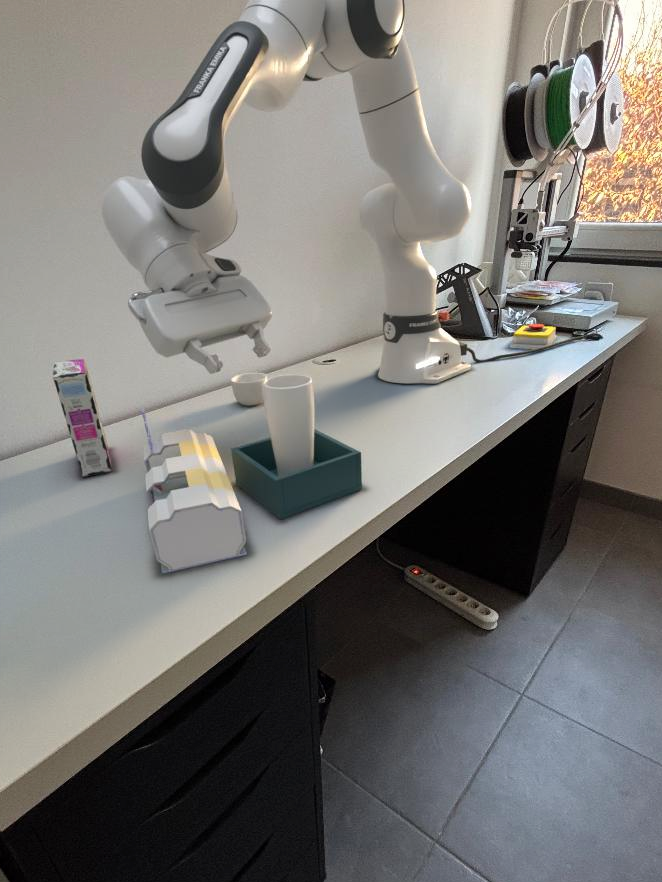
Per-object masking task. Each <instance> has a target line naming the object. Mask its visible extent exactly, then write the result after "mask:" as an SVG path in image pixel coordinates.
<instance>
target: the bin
mask: <svg viewBox="0 0 662 882" xmlns="http://www.w3.org/2000/svg"><path fill="white" fill-rule="evenodd" d="M230 453H231V459H232V467H233V473H234V479H235V484H236V485H237V486H238V487H239V488H240V489H242V490H243V491H244V492H246V494H248V495H249V496H250V497H251V498H253V499H254V500H255V501H257V502H258V503H259V504H260V505H261V506H262V507H264V508H265V509H266V510H267V511H269V512H270V513H271V514H273V515H274V516H275V517H276V518H277V519H279V520H281V521H282V520H283V519H286V518H288V517H289V518H290V517H292V516H294V515H297V514H300V513H302V512H305V511H307V510H308V511H309V510H310V509H313V508H316V507H318V506H321V505H324V504H326V503H329V502H331V501H334V500H337V499H340V498H342V497H345V496H347V495H350V494H353V493H355V492H359V491H361V490H362V489H363V477H362V475H363V473H362V452H361V451H360V450H357V449H356V448H354V447H351V446H350V445H347V444H345V443H343V442H341V441H339V440H338V439H335V438H334V437H331V436H329V435H328V434H325V433H324V432H322V431H319V430H318V429H316V428H314V465H313V466H310V467H307V468H304V469H301V470H298V471H295V472H292V473H289V474H286V475H283V476H280V477H278V474H277V467H276V462H275V457H274V452H273V447H272V442H271V437H270V436H269V437H266V438H263V439H260V440H255V441H253V442H249V443H246V444H241V445H239V446H235V447H232V448H230Z"/></svg>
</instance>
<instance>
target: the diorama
mask: <svg viewBox="0 0 662 882" xmlns="http://www.w3.org/2000/svg"><path fill="white" fill-rule="evenodd" d="M144 409H145V408H144V407H141V408H140V411H141V414H142V418H143V424H144V428H145V431H146V436H147V440H148V442H147V444H146V445H145V446H144V447H142V451H143V452H142V453H143V463H144V467H145V471H146V474H145V475H144V478H145V489H146V491H145V492H146V497H147V499H148V504H149V508H147V520H148V521H147V522H148V531H149V536H150V539H151V542H152V547H153V551H154V555H155V559H156V561H157V562H158V563H160V569H161V574H162V575H163V574H168V573H171V572H175V571H180V570H185V569H189V568H193V567H194V568H195V567H198V566H202V565H207V564H212V563H216V562H220V561H225V560H229V559H233V558H238V557H242V556H247V555H248V552H247V549H246V547H245V544H246V542H247V536H246V529H245V524H244V518H243V512H242V508H241V506H240V503H239V501H238V498H237V495H236V493H235V491H234V488H233V486H232V483H231V481H230V478H229V476H228V473H227V471H226V469H225V466H224V463H223V461H222V458H221V455H220V453H219V451H218V448H217V445H216V443H215V439H214V438H213V436H212V435H210V434H208V433H206V432H198V433H197V432H196V433H195V432H194V431H193V430H192V429H190V428H187V429H186V428H185V429H180V430H175V431H174V430H173V431H169V432H163V433H161V434H160V435H159V437H158V438H157V439H156V440H152V436H151V431H150V427H149V423H148V419H147V415H146V411H145V410H144ZM176 446H178V447H179V451H180V455H179V456H173V457H167V458H165V459H164V461H163V462H162V465H157V466H153V467H151V463H150V459H151V458H152V457H154V456H160V455H162V454H163V452H164V450H165V449H166V448H167V449H168V448H170V447H176ZM182 474H185V476H181V477H176V478H171V479H169V478H170V477H173V476H177V475H182Z"/></svg>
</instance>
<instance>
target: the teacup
mask: <svg viewBox="0 0 662 882" xmlns="http://www.w3.org/2000/svg"><path fill="white" fill-rule="evenodd" d="M266 379H268V375H267V374H266V373H263V372H245V373H240V374H237V375H234V376H233V377H231V378H230V384H231V389H232V393H233V397H234V398H235V400H236V401H237V402H238V403H239V404H241V405H243V406H246V407H247V406H257V405H260V404H262V403H264V395H263V382H264V381H265V380H266Z"/></svg>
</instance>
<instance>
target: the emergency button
mask: <svg viewBox="0 0 662 882" xmlns="http://www.w3.org/2000/svg"><path fill="white" fill-rule="evenodd" d="M556 331H557V327H556V326H545V325H544V324H543V323H531V324H528V325H522V326H521V327H520V328H518V329H517V330H516V331H515V332H514V333H513V336H512V342H511V343H510V344H509V348H510V349H523V350H524V349H525V350H533V349H537V348H541V347H544V346H548V345H551V344H553V343H554V341H555V340H556V339H557V335H556ZM545 350H547V349H545ZM545 350H544V351H545Z"/></svg>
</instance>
